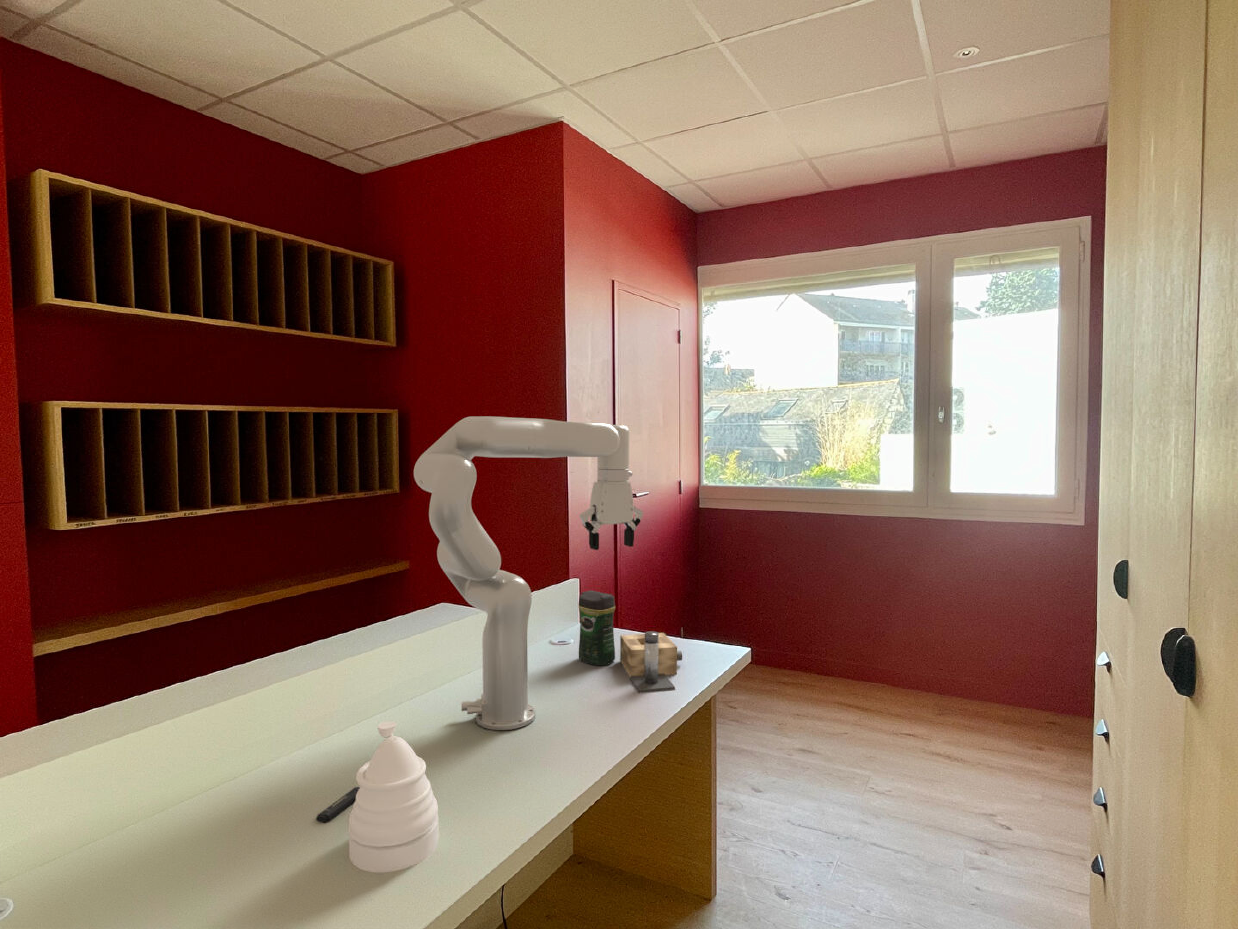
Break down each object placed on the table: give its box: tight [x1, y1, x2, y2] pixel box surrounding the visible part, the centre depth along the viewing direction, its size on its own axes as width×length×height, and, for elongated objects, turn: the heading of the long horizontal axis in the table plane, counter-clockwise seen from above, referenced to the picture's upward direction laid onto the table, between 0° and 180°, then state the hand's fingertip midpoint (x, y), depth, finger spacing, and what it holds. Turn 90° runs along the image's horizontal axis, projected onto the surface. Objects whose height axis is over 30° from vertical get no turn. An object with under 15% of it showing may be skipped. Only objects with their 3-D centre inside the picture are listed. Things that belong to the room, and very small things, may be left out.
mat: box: [629, 674, 676, 693], centre depth 167 cm, size 9×9×1 cm
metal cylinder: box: [644, 630, 660, 684], centre depth 167 cm, size 3×3×12 cm
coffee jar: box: [578, 589, 616, 666], centre depth 183 cm, size 10×8×19 cm
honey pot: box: [348, 720, 440, 874], centre depth 103 cm, size 13×13×18 cm
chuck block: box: [619, 632, 683, 677], centre depth 179 cm, size 15×12×7 cm
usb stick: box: [316, 786, 360, 824], centre depth 114 cm, size 10×3×2 cm, turn 161°
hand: (611, 547), depth 165 cm, fingers open, 9 cm apart
